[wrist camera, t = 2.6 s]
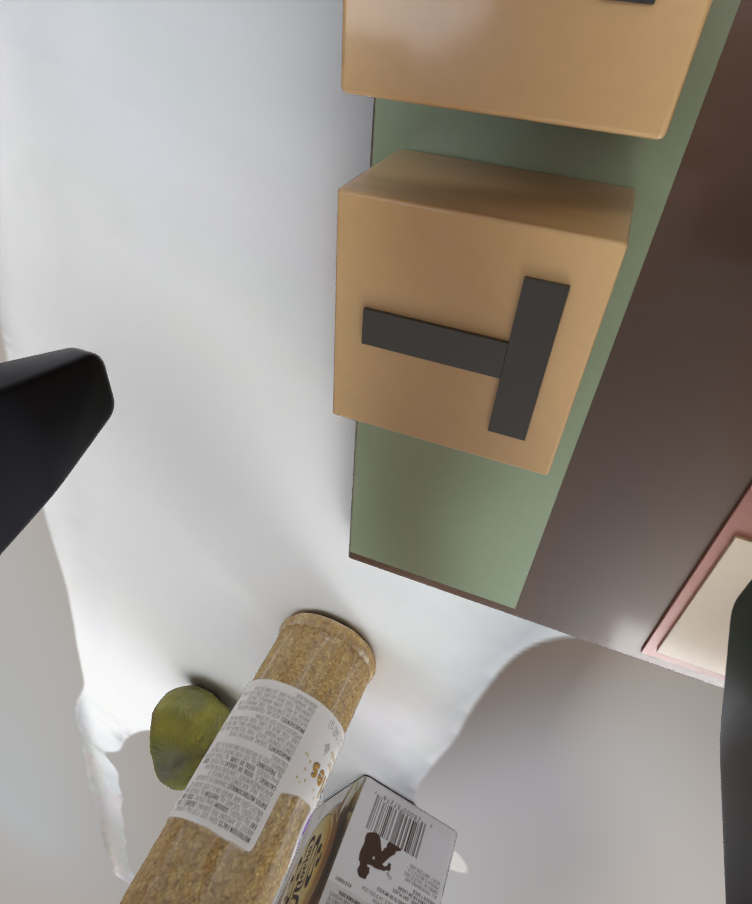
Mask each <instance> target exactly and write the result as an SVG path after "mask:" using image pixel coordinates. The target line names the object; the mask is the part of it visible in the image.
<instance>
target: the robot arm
mask: <svg viewBox="0 0 752 904" xmlns="http://www.w3.org/2000/svg"><path fill="white" fill-rule="evenodd" d="M113 409H114V397H113V393H112V390H111V386H110V383H109V379H108V375H107V372H106V368H105V364H104V362H103V360H102V359H101V358H100V356H98V355H97V354H95V353H92V352H88V351H85V350H82V349H78V348H66V349H62V350H57V351H53V352H48V353H44V354H39V355H35V356H30V357H26V358H21V359H17V360H12V361H8V362H3V363H0V555H1V553H2V552H3V551H4V550H5V549H6V548H7V547H8V546H9V545H10V543H11V542H12V541H13V540H14V539H15V538H16V536H17V535H18V534H19V533H20V532H21V531H22V530H23V529H24V528H25V526H26V525H27V524H28V523H29V522H30V521H31V520H32V519H33V518H34V516H35V515H36V514H37V513H38V512H39V511H40V510H41V508H42V507H43V506H44V505H45V504H46V503H47V502H48V500H49V499H50V498H51V497H52V496H53V495H54V493H55V492H56V491H57V489H58V488H59V487H60V486H61V484H62V483H63V482H64V480H65V479H66V477H67V476H68V475H69V473H70V472H71V471H72V469H73V468H74V466H75V465H76V464H77V462H78V461H79V460H80V458H81V457H82V455H83V454H84V453H85V451H86V450H87V449H88V447H89V446H90V444H91V443H92V442H93V440H94V439H95V438H96V436H97V435H98V433H99V432H100V431H101V429H102V428H103V426H104V425H105V424H106V422H107V421H108V420H109V418H110V417H111V415H112V412H113ZM720 767H721V790H722V791H721V792H722V817H723V843H724V866H725V867H724V868H725V892H726V904H752V579H751V581H750V582H749V583H748V584H747V586H746V587H745V588H744V590H743V591H742V592H741V594H740V595H739V596H738V598H737V599H736V601H735V603H734V606H733V608H732V612H731V618H730V628H729V639H728V650H727V661H726V672H725V683H724V695H723V706H722V717H721V732H720Z"/></svg>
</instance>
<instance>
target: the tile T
mask: <svg viewBox="0 0 752 904" xmlns="http://www.w3.org/2000/svg"><path fill="white" fill-rule="evenodd" d="M635 193H636V191H635V189H634V188H629V187H623V186H617V185H612V184H606V183H600V182H594V181H588V180H582V179H576V178H570V177H564V176H558V175H553V174H547V173H541V172H535V171H529V170H523V169H517V168H511V167H505V166H500V165H494V164H488V163H482V162H476V161H470V160H464V159H458V158H452V157H447V156H441V155H435V154H429V153H423V152H417V151H411V150H405V149H399V150H397V151H396V152H394V153H393V154H391V155H390V156H388V157H386V158H385V159H383V160H382V161H380V162H379V163H377V164H376V165H374V166H373V167H371V168H370V169H368V170H367V171H365V172H364V173H362V174H360V175H359V176H357V177H356V178H354V179H353V180H351V181H350V182H348V183H347V184H345V185H344V186H342V187H341V188H339V190H338V215H337V259H336V304H335V348H334V392H333V413H334V414H336V415H339V416H343V417H346V418H350V419H353V420H357V421H360V422H363V423H367V424H370V425H374V426H377V427H381V428H384V429H388V430H391V431H395V432H398V433H401V434H405V435H408V436H412V437H415V438H419V439H422V440H426V441H429V442H432V443H436V444H439V445H443V446H446V447H450V448H453V449H457V450H460V451H464V452H467V453H470V454H474V455H477V456H481V457H484V458H488V459H491V460H495V461H498V462H501V463H505V464H508V465H512V466H515V467H519V468H522V469H526V470H529V471H533V472H536V473H539V474H543V475H547V474H548V473H549V472H550V469H551V466H552V463H553V460H554V457H555V454H556V451H557V449H558V446H559V443H560V440H561V437H562V434H563V431H564V428H565V426H566V423H567V420H568V417H569V414H570V411H571V408H572V405H573V402H574V400H575V397H576V394H577V391H578V388H579V385H580V382H581V379H582V377H583V374H584V371H585V368H586V365H587V362H588V359H589V356H590V354H591V351H592V348H593V345H594V342H595V339H596V336H597V333H598V330H599V328H600V325H601V322H602V319H603V316H604V313H605V310H606V307H607V305H608V302H609V299H610V296H611V293H612V290H613V287H614V284H615V281H616V279H617V276H618V273H619V270H620V267H621V264H622V261H623V258H624V256H625V253H626V250H627V247H628V240H629V234H630V227H631V220H632V213H633V207H634V200H635Z"/></svg>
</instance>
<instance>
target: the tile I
mask: <svg viewBox="0 0 752 904" xmlns="http://www.w3.org/2000/svg"><path fill="white" fill-rule="evenodd" d="M712 1H713V0H343V32H342V75H341V87H342V91H344V92H346V93H347V94H354V95H360V96H367V97H374V98H380V99H387V100H394V101H400V102H407V103H414V104H420V105H427V106H434V107H440V108H447V109H454V110H460V111H467V112H474V113H480V114H487V115H494V116H500V117H507V118H514V119H520V120H527V121H534V122H540V123H547V124H554V125H561V126H567V127H574V128H581V129H587V130H594V131H601V132H607V133H614V134H621V135H627V136H634V137H641V138H647V139H654V140H658V139H662V138H663V137H664V136H665V135H666V133H667V131H668V128H669V125H670V123H671V120H672V117H673V114H674V111H675V108H676V105H677V102H678V99H679V97H680V94H681V91H682V88H683V85H684V82H685V79H686V76H687V74H688V71H689V68H690V65H691V62H692V59H693V56H694V53H695V50H696V48H697V45H698V42H699V39H700V36H701V33H702V30H703V27H704V25H705V22H706V19H707V16H708V13H709V10H710V7H711V4H712Z"/></svg>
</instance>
